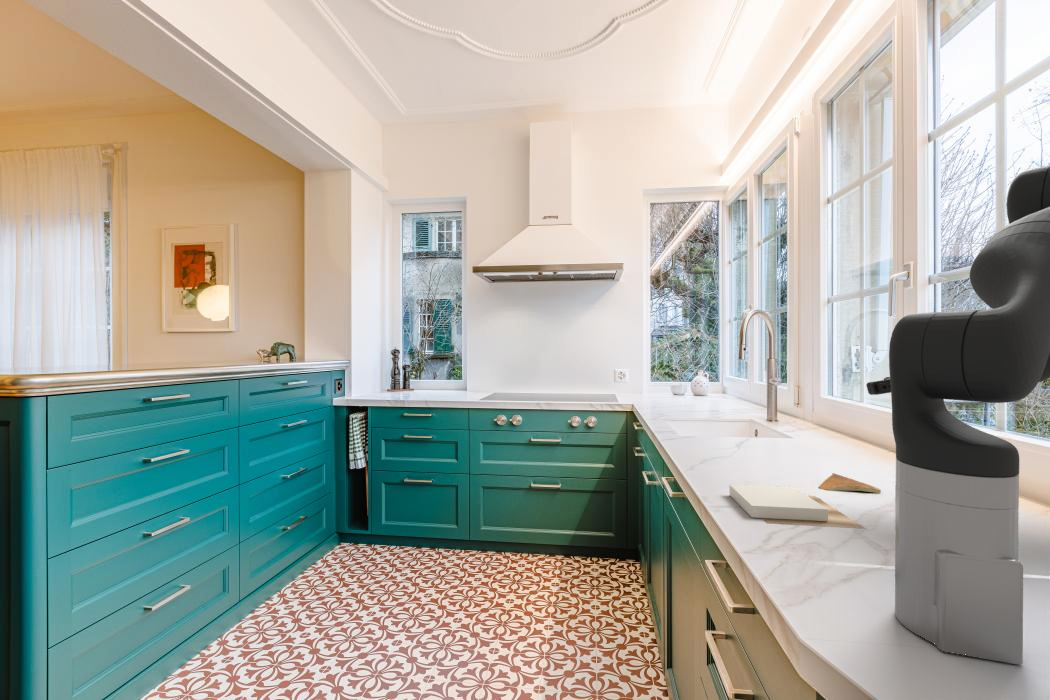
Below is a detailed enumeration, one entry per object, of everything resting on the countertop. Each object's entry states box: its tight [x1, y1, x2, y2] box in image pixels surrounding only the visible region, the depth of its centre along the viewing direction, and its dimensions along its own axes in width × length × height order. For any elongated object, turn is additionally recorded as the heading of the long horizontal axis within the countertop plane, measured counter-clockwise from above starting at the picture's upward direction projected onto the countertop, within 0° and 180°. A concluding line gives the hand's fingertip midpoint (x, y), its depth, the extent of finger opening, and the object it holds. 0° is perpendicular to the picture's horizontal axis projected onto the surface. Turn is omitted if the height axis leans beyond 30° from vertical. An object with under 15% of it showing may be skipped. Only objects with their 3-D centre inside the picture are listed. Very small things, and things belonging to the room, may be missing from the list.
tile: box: [729, 484, 828, 521], centre depth 82 cm, size 12×2×12 cm
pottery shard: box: [818, 472, 882, 494], centre depth 94 cm, size 10×9×2 cm
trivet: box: [761, 495, 865, 529], centre depth 81 cm, size 16×15×1 cm
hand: (870, 388), depth 78 cm, fingers closed
